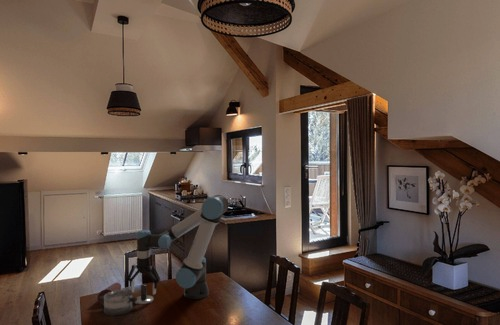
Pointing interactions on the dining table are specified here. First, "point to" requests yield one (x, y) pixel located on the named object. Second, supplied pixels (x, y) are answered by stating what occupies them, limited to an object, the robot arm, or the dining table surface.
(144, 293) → the lid
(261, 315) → the dining table surface
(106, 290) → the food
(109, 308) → the pot
